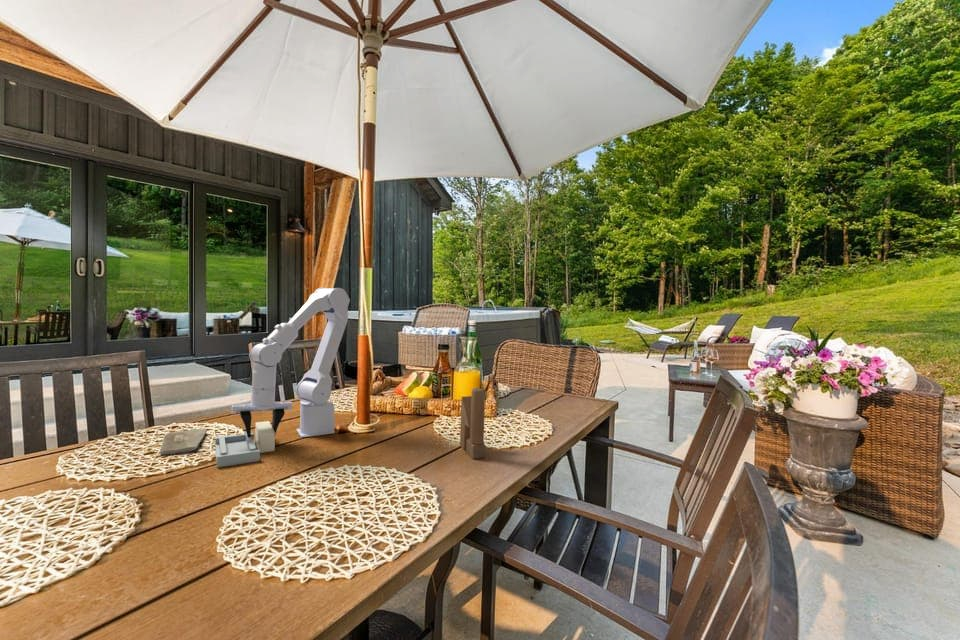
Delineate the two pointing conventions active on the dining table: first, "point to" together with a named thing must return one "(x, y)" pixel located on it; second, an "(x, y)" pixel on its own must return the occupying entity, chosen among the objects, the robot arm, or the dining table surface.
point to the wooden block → (473, 423)
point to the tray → (236, 450)
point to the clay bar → (264, 436)
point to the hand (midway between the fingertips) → (261, 437)
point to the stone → (182, 441)
